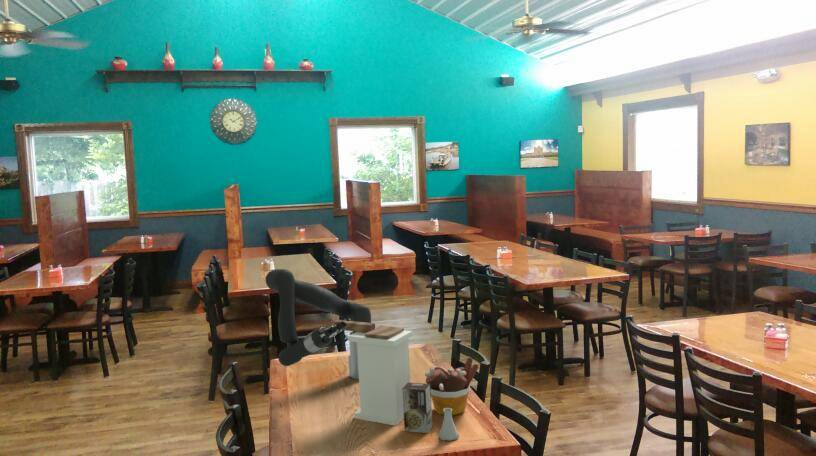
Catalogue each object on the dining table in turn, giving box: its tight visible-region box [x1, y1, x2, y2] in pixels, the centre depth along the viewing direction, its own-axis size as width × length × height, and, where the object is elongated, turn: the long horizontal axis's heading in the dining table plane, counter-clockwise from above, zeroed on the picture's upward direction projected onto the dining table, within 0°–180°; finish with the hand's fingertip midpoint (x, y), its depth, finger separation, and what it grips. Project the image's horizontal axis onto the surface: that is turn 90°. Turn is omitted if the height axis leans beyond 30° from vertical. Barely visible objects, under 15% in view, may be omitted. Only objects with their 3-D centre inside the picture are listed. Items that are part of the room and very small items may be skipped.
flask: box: [438, 408, 460, 442], centre depth 229 cm, size 7×7×10 cm
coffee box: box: [402, 382, 434, 434], centre depth 236 cm, size 9×6×16 cm
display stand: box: [347, 326, 413, 426], centre depth 249 cm, size 20×14×32 cm
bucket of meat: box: [424, 356, 479, 417], centre depth 251 cm, size 20×16×20 cm
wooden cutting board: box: [333, 319, 405, 339], centre depth 250 cm, size 27×12×3 cm, turn 61°
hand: (347, 322), depth 254 cm, fingers closed on wooden cutting board, 3 cm apart
